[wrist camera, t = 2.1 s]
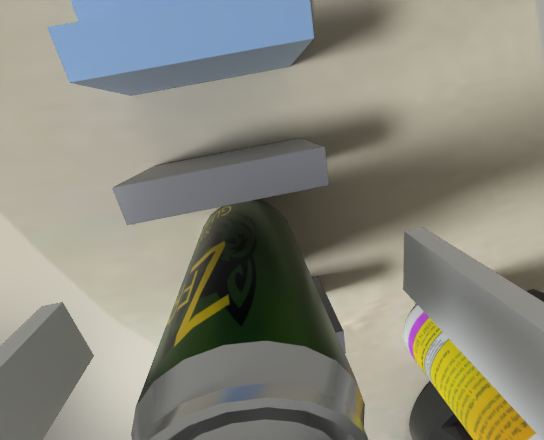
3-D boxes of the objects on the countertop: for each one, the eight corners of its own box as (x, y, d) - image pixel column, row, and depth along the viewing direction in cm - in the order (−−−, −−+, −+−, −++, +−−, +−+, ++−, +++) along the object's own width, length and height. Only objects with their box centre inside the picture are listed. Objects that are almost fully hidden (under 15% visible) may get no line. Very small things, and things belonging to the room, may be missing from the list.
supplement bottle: (406, 364, 22) (604, 662, 10) (392, 303, 19) (630, 597, 7) (485, 337, 22) (787, 607, 10) (481, 271, 19) (873, 521, 7)
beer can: (305, 216, 16) (437, 422, 5) (268, 286, 18) (310, 563, 7) (222, 180, 15) (160, 353, 4) (190, 259, 17) (80, 545, 5)
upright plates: (320, 294, 19) (345, 353, 14) (205, 318, 18) (192, 386, 14) (246, -260, 10) (248, -612, 5) (23, -228, 9) (-192, -565, 5)
